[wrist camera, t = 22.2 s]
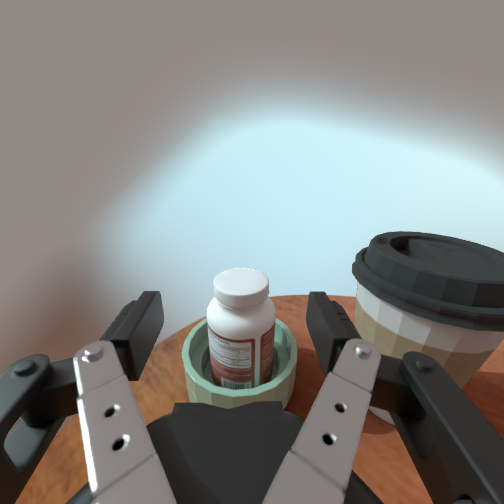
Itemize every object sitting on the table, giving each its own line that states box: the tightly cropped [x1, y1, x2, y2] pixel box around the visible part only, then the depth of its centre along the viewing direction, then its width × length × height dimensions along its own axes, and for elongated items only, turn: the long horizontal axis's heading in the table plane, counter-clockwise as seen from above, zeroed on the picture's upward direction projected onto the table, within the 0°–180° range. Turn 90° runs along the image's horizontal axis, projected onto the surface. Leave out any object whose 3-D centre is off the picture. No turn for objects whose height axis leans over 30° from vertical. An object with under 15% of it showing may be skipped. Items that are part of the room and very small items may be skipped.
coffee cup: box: [352, 231, 504, 426], centre depth 21 cm, size 11×11×15 cm
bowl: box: [182, 318, 298, 409], centre depth 24 cm, size 11×11×4 cm
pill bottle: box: [207, 268, 276, 390], centre depth 22 cm, size 6×6×11 cm
